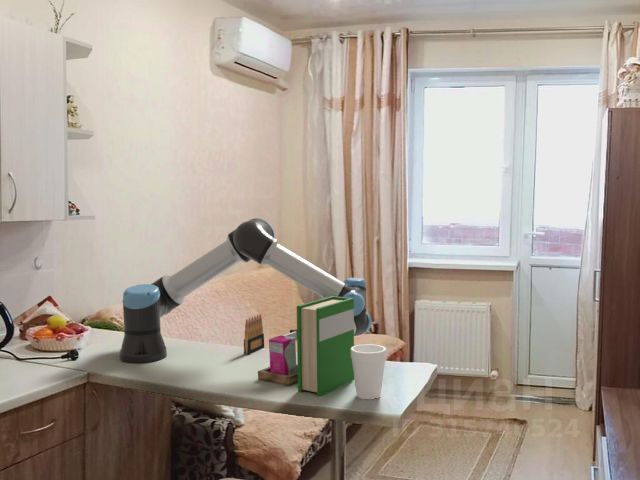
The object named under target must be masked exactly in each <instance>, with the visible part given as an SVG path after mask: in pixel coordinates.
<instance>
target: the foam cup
mask: <svg viewBox="0 0 640 480" xmlns="http://www.w3.org/2000/svg"><path fill="white" fill-rule="evenodd" d="M351 358H352V365H353V372H354V385H355V386H354V387H355V393H356V397H357V396H358V397H359V398H358V397H357V398H358V399H360V398H361V400H365V399H373V398H377V397H379V396H380V397H381V395H382V387H383V382H384V374H385V373H384V371H385V365H386V358H387V348H386V347H385V346H383V345H381V344H380V345H378V344H373V343H371V344H370V343H368V344H367V343H364V344H363V343H362V344H356V345H354V346H353V347H352V348H351Z"/></svg>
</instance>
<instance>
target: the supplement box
mask: <svg viewBox="0 0 640 480" xmlns="http://www.w3.org/2000/svg"><path fill="white" fill-rule="evenodd" d="M296 345H297V344H296V341H295V337H289V336H283V335H278V336H275V337H271V338H269V339H268V346H269V347H268V349H269V367H270V372H272V373H277V374H282V375H287V376H289V375H291V374H294V373H296V372H297V370H296V365H297V346H296Z"/></svg>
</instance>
